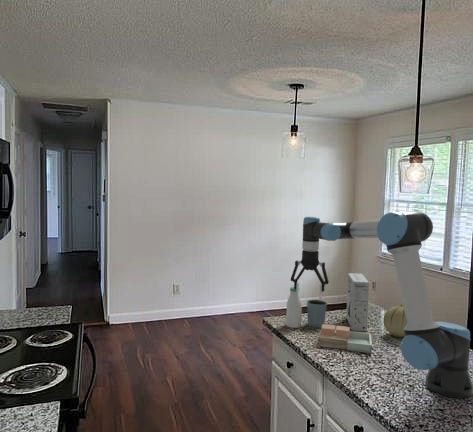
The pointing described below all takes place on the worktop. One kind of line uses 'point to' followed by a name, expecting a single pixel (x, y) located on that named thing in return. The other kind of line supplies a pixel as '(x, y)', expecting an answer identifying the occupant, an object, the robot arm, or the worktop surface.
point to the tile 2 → (342, 331)
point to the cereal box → (357, 302)
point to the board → (333, 341)
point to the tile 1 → (328, 330)
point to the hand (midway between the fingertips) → (308, 297)
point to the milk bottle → (293, 310)
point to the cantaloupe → (395, 321)
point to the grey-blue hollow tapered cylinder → (316, 312)
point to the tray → (359, 342)
